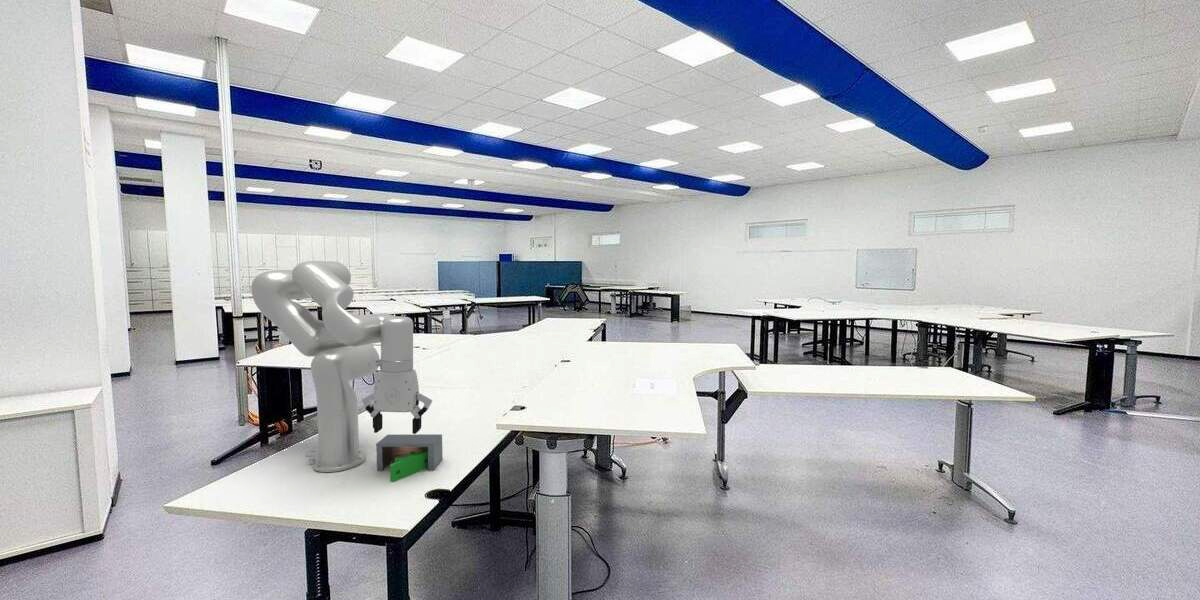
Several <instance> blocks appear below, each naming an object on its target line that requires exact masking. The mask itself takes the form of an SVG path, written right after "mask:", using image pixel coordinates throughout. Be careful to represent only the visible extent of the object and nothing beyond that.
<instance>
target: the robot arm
mask: <svg viewBox="0 0 1200 600" xmlns="http://www.w3.org/2000/svg"><path fill="white" fill-rule="evenodd" d="M351 279H352V277H351V272H350V271H349V268H348V267H347V266H346V265H344V264H343V263H341V262H339V261H335V260H334V261H333V260H331V261H330V260H329V261H327V260H326V261H325V260H307V261H302V262H300V263H298V264H297V265H296V266H294V267H293V269H276V270H275V269H274V270H268V271H264V272H261V273H259V274H258V275H256V276H255V277H254V278H253V280H252V283H251V295H252V299H253V301H254V304H255V306H256V308H257V309H258V310H259V311H260V313H262V315H263V316H264V317H266V319H268V320H269V321H270V322H272V323H273V324H274V325H275V326H276V327H277V328H278V329H279V330H280V331H281V332H282V333H283V335H284V336H285V337H286V338H287V339H288V340H289V341H290V342H291V344H292V345H293V346H294V347H295V348H296V349H297V351H298V352H300V354H302V355H304V356H305V357H309V358H310V357H312V360H311V363H310V372H311V376H312V381H313V383H314V388H315V396H316V409H317V410H316V411H317V412H316V413H317V431H318V432H317V435H318V438H317V439H318V447H316V446H308V447H307V449H306V451H305V457H306V458H314V461H312V469H313V470H314V471H316V472H320V473H333V472H341V471H346V470H349V469H352V468H355V467H357V466H359V465H361V464H362V463H364V461H366V453H365V452H364V451H363V450H360V442H359V441H360V439H359V436H360V435H359V411H358V410H359V409H358V396H357V393H356V391H355V390H354V389H353V387H352V385H351V384H350V381H353V380H357V379H360V378H364V377H368V376H371V375H372V374H374V373H376V376H375V380H374V387H373V388H374V389H373V393H372V394H369V395H368V396H367V395H366V396H364V398H362V399H361V403H362V404H363V405H364V408H365V410H366V412H367V413H369V414H370V417H371V418H372V429H373V432H374V433H375V434H376V433H378V432H380V431H381V430H383V413H384V412H385V413H411V415H412V416H413V418H412V425H411V426H412V432H411V433H412V435H417V433H418V432H419V431H420V430H421V429H422V416H423V415H424V414H425V413H426V412H427V411H428V410H429V408H430V406H431V404H432V403H433V400H432V399H431V398H429V397H427V396H425V395H423V393H420V388H419V386H420V385H419V379H418V375H417V371H416V369H414V322H413V319H412V318H410V317H408V316H397V315H393V314H390V313H385V312H384V313H383V312H380V313H379V312H378V313H369V314H360V315H352V314H350V313H349V312H347V310H346V309H347V308H348V307H349V306H350V304H351V303H352V302H353V299H354V290H353V289H352V287H351V286H349V285H350V284H351ZM304 299H305V300H307V299H311V300H313V302H315V303H316V304H317V305H319V307H320V308H321V316H322V320H320V319H319V318H317V317H315V315H314V314H312V312H311V311H310V310H309V309H308V308H306V306H304V305H302V304H300V303H298V302H295V301H293V300H304ZM373 344H380V355H379V352H378V350H377V349H376V348H375V346H374V345H373ZM378 369H379V370H378ZM372 400H373V401H372ZM371 401H372V402H371ZM420 402H421V403H422V404H423V407H422V408H421V407H420V406H419V405H420ZM381 412H383V413H381Z"/></svg>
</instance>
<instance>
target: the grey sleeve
mask: <svg viewBox="0 0 1200 600" xmlns="http://www.w3.org/2000/svg"><path fill="white" fill-rule="evenodd" d="M375 446H376V449H375V450H376V471H377V472H383V471H384V470H386V468H387V467H388V466H390V464H393V463H395V458H396V457H399V458H403V457H407V456H410V452H412V451H413V452H416V453H418V454H419V453H421V452H424V451H427V450H428V468H427V469H428V471H429V472H430V471H433V472H434V471H436V470H437V468H438V466H439V465H440V464H441V463H442V462H443V459H444V458H443V434H434V433H433V434H429V433H428V434H386V435H385V436H384V437H383V438H382V439H380V440H378V441H377V442H376V443H375Z"/></svg>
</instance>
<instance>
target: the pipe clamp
mask: <svg viewBox="0 0 1200 600" xmlns="http://www.w3.org/2000/svg"><path fill="white" fill-rule="evenodd" d="M426 469H428V450H427V451H424V452H421V453H419V454H418V453H416V452H413V451H412V452H410V456H407V457H403V458H399V457H396V458H395V462H392V463H390V464H389V478H390V480H389V481H390V482H391V483H395V482H398V481H400V480H402V479H405V478H407V477H410V476H412V475H414V474H417V473H419V472H421V470H422V471H424V470H426Z"/></svg>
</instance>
